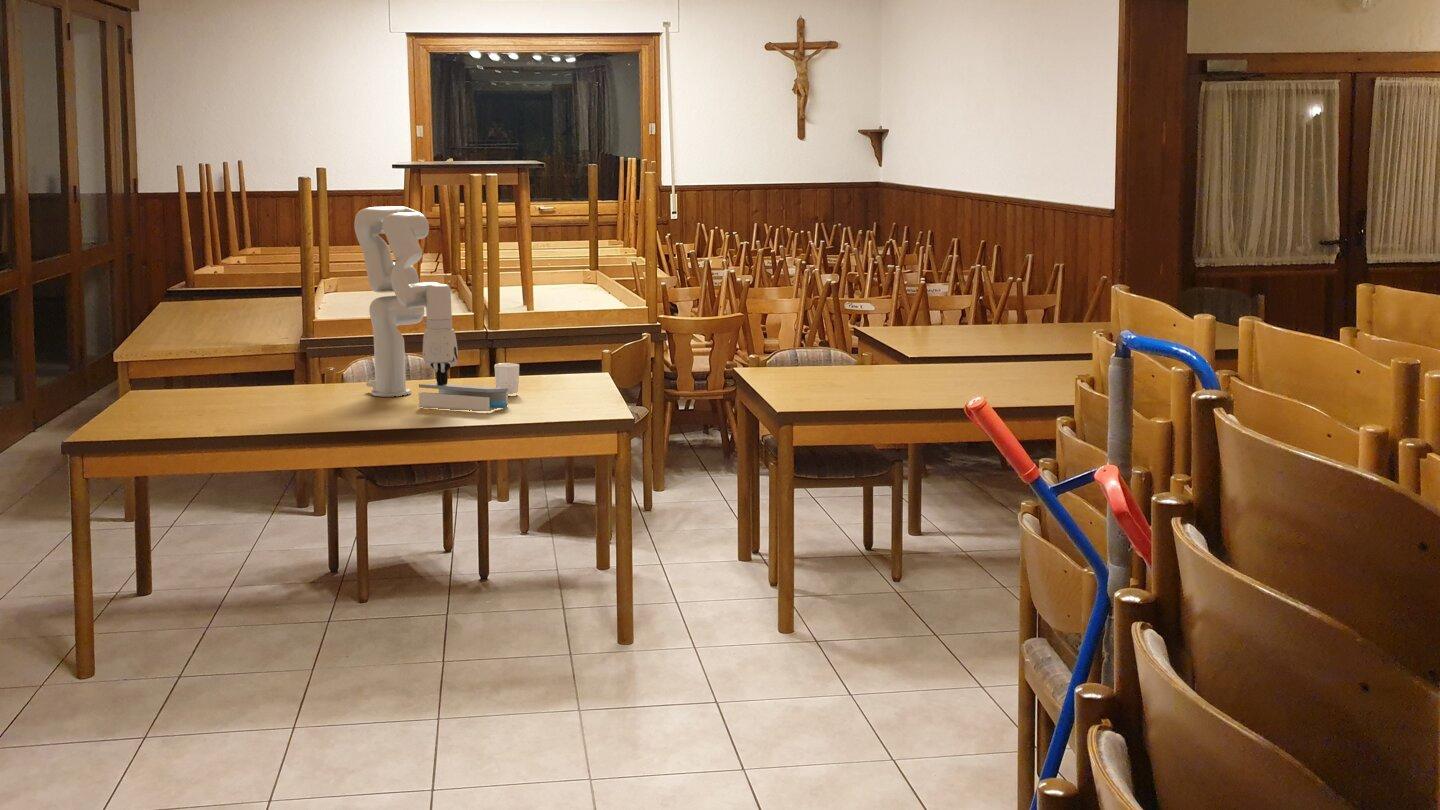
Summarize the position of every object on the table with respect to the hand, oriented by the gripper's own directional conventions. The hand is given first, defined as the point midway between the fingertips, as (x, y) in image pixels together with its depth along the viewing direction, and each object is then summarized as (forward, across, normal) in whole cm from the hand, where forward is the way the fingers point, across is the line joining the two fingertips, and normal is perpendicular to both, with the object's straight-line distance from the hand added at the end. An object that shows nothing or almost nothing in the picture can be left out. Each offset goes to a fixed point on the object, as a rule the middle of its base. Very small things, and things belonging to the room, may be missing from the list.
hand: (442, 384), depth 436 cm
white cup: (+7, +7, +27) cm, 29 cm away
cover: (+2, +6, +2) cm, 7 cm away
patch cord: (+6, +7, +2) cm, 9 cm away
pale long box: (+7, +6, +2) cm, 10 cm away
